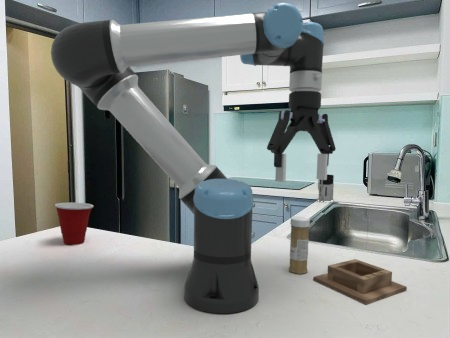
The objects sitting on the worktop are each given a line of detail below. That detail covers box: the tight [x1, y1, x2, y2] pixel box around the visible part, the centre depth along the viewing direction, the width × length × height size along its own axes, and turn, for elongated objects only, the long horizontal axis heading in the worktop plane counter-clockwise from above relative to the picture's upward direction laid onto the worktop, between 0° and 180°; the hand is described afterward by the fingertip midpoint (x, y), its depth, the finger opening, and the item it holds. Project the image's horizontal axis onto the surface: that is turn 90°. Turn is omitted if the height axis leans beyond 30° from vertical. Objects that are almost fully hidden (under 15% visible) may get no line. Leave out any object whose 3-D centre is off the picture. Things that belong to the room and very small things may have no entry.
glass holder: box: [317, 174, 335, 201], centre depth 193 cm, size 9×14×15 cm, turn 139°
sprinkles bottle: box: [288, 215, 311, 275], centre depth 85 cm, size 5×5×13 cm
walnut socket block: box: [312, 258, 408, 306], centre depth 78 cm, size 14×14×4 cm
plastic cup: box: [54, 202, 94, 246], centre depth 106 cm, size 11×11×12 cm
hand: (301, 180), depth 84 cm, fingers open, 13 cm apart
